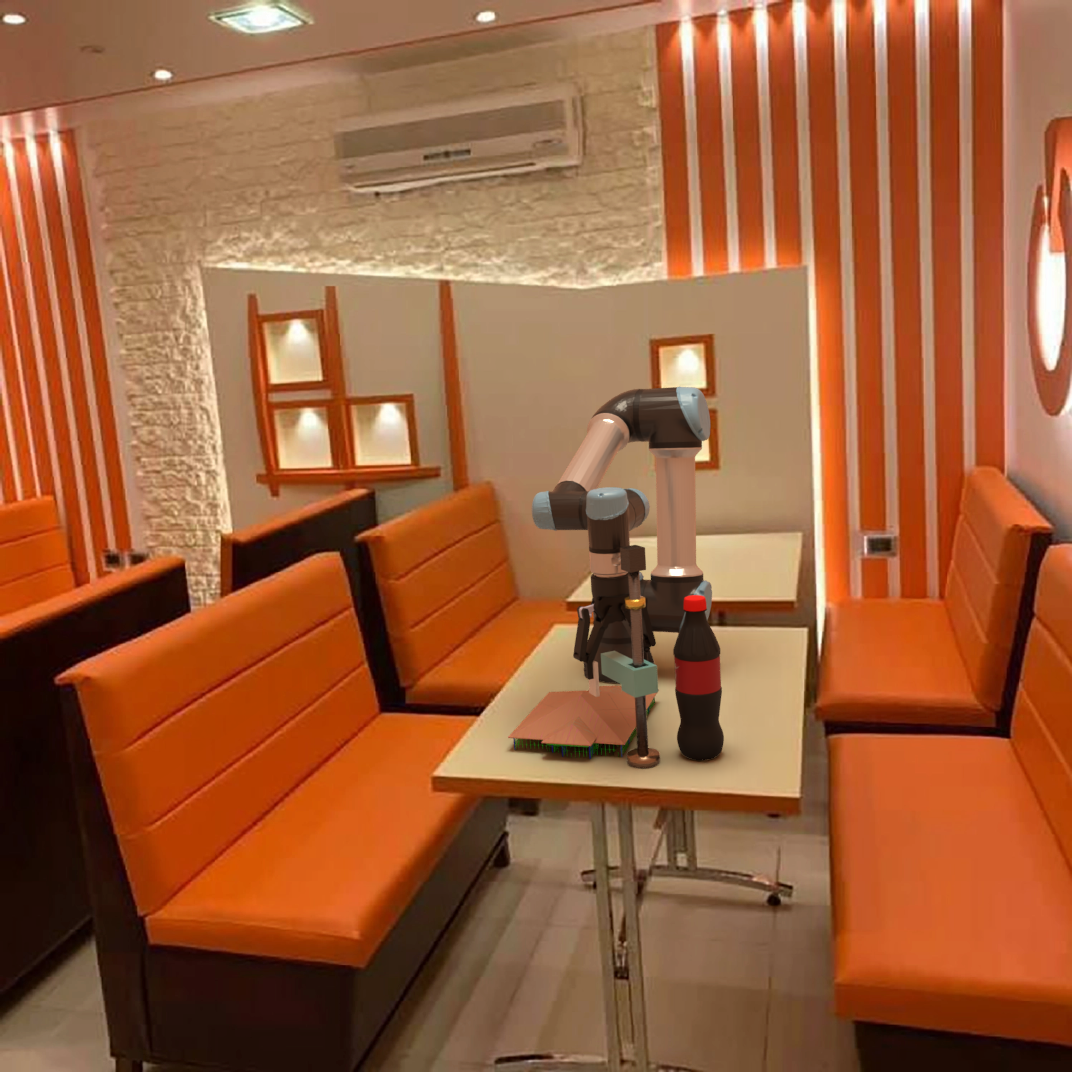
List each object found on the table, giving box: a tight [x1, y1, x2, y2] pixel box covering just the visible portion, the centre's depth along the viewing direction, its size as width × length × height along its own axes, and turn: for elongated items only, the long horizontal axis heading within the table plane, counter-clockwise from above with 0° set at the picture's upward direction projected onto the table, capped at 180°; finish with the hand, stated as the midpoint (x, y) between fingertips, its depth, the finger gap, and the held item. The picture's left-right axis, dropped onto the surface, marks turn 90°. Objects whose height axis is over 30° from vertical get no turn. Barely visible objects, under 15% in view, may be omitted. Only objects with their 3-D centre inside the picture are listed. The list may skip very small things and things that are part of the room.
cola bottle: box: [672, 595, 725, 762], centre depth 189 cm, size 8×8×30 cm
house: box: [507, 684, 660, 760], centre depth 208 cm, size 23×33×8 cm
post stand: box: [620, 544, 661, 769], centre depth 187 cm, size 6×6×40 cm
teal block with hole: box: [601, 651, 659, 698], centre depth 192 cm, size 14×5×5 cm, turn 25°
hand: (617, 689), depth 196 cm, fingers open, 9 cm apart
